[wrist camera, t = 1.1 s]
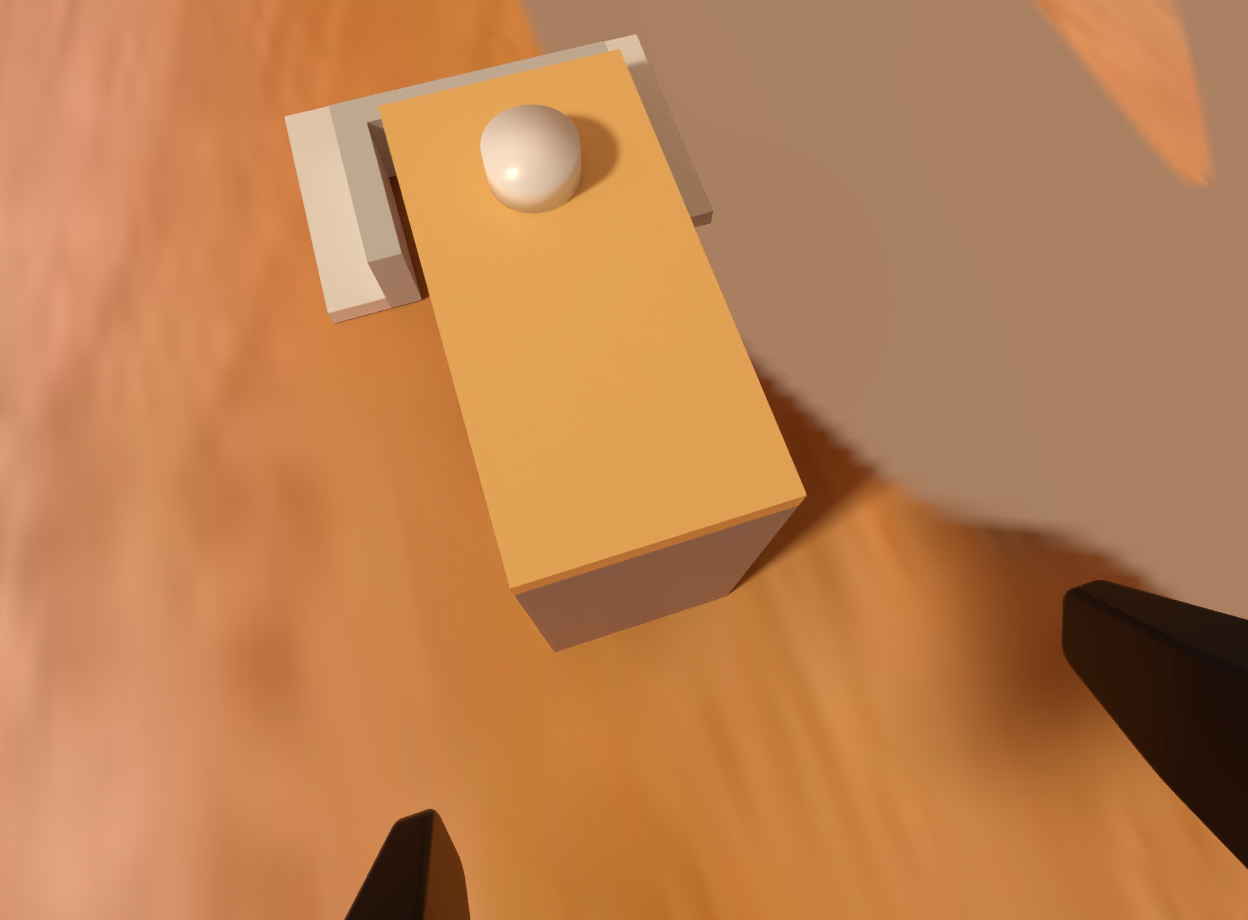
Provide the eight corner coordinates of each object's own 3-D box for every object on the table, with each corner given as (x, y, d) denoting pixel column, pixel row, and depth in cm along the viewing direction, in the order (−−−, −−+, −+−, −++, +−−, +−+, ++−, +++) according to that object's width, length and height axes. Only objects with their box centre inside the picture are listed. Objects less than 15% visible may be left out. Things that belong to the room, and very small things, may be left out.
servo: (726, 596, 22) (819, 480, 12) (554, 652, 21) (503, 578, 11) (617, 299, 25) (619, 14, 15) (465, 341, 24) (365, 73, 14)
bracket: (710, 222, 26) (720, 170, 23) (334, 322, 24) (304, 278, 22) (635, 48, 28) (637, -15, 26) (291, 129, 27) (260, 71, 24)
